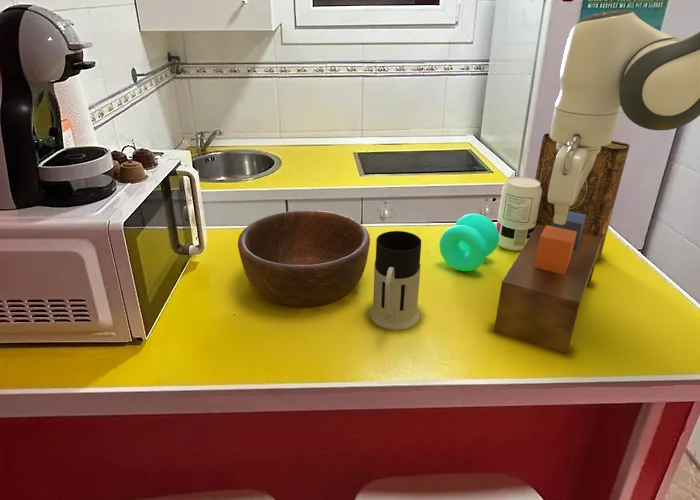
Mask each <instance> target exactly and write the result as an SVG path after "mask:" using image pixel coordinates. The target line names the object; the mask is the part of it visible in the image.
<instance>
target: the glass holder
mask: <svg viewBox="0 0 700 500" xmlns="http://www.w3.org/2000/svg"><path fill="white" fill-rule="evenodd" d="M421 253H422V239H421V238H420V237H419V236H418V235H417V234H415V233H412V232H408V231H403V230H390V231H385V232H383V233H380V234H379V235H378V236H377V237H376V241H375V260H374V268H373V270H374V271H373V296H372V297H373V299H372V301H373V303H372V308H371V310H370V314H369V315H370V318H371V320H372V321H373V323H374V324H375V325H378V326H379V327H381V328H384V329H388V330H394V331H395V330H396V331H397V330H399V331H400V330H406V329H409V328H412V327H413V326H415V325H416V324H417V323H418V322H419V319H420V313H419V310H418V303H419V291H420V278H421V277H420V276H421V265H422V264H421Z"/></svg>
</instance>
